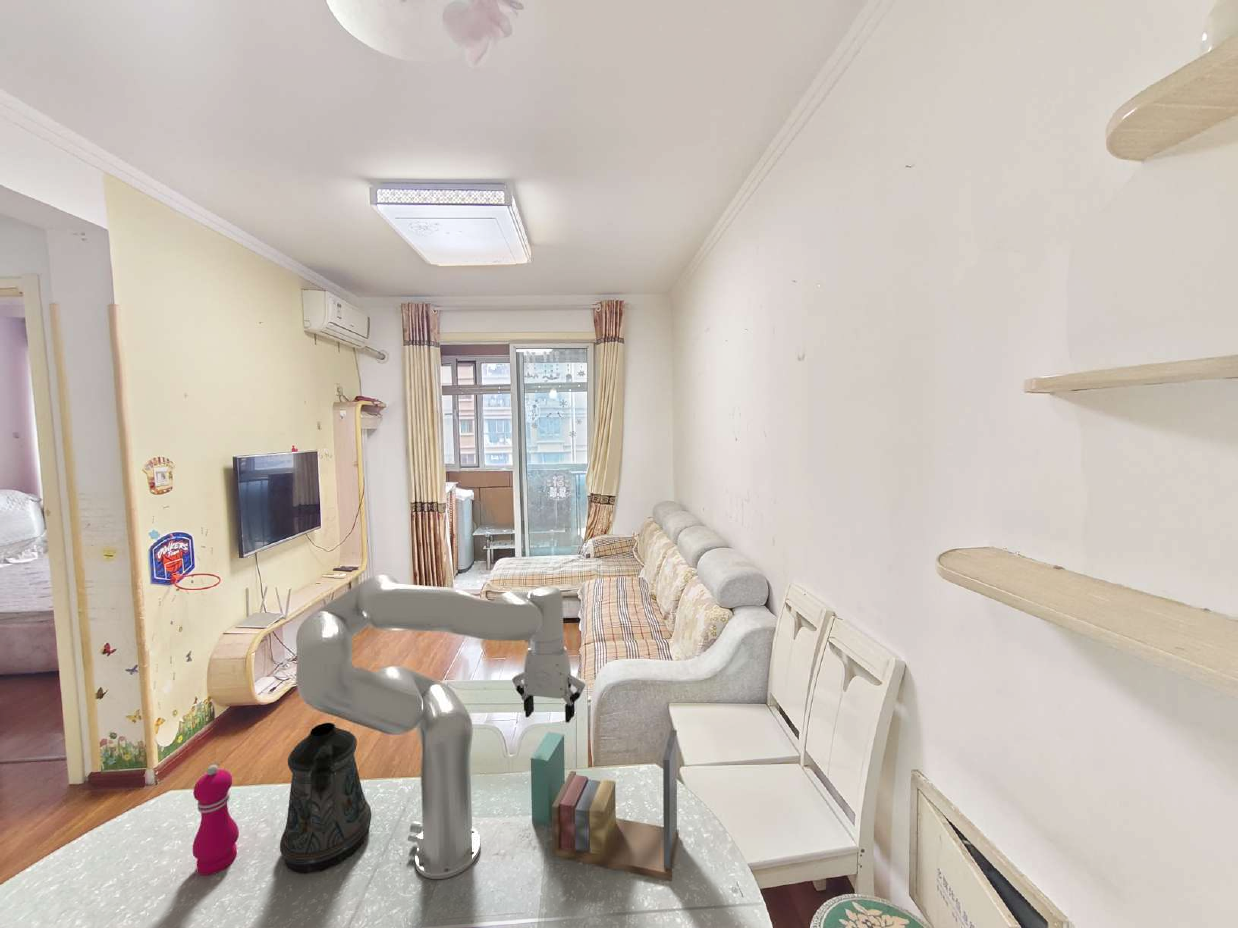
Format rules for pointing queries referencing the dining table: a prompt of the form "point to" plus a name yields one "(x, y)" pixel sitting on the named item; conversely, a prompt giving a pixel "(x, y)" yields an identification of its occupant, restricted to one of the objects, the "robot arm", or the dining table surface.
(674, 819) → the bookend
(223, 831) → the pepper mill
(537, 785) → the loose book
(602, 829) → the book rack
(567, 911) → the dining table surface
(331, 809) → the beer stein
